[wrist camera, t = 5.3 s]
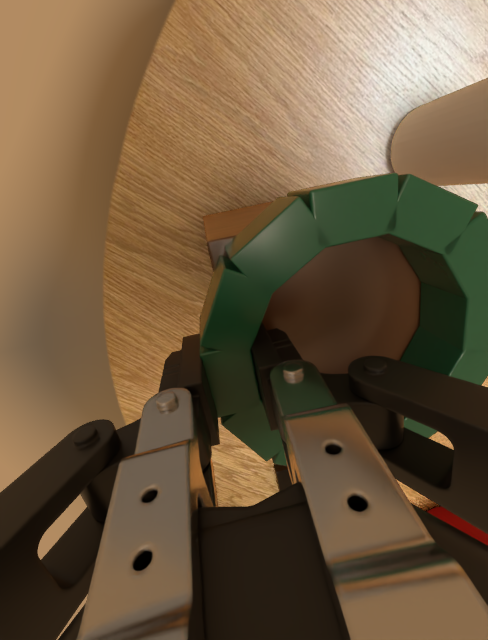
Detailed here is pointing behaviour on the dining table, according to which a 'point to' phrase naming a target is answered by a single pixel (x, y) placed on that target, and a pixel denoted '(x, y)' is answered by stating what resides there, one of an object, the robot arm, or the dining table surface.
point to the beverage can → (446, 139)
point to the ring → (331, 230)
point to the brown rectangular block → (336, 297)
